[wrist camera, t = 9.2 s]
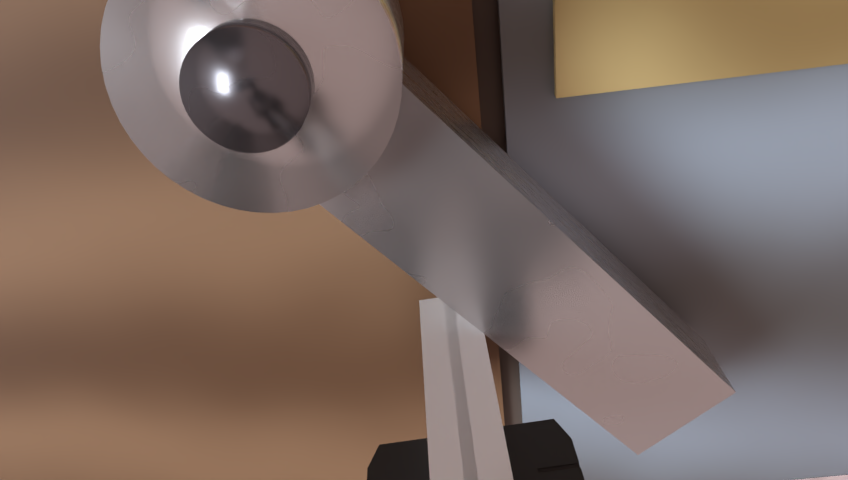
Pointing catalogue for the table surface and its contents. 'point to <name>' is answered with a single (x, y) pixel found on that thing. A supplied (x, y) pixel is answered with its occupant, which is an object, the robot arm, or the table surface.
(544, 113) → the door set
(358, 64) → the latch bar
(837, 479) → the table surface
